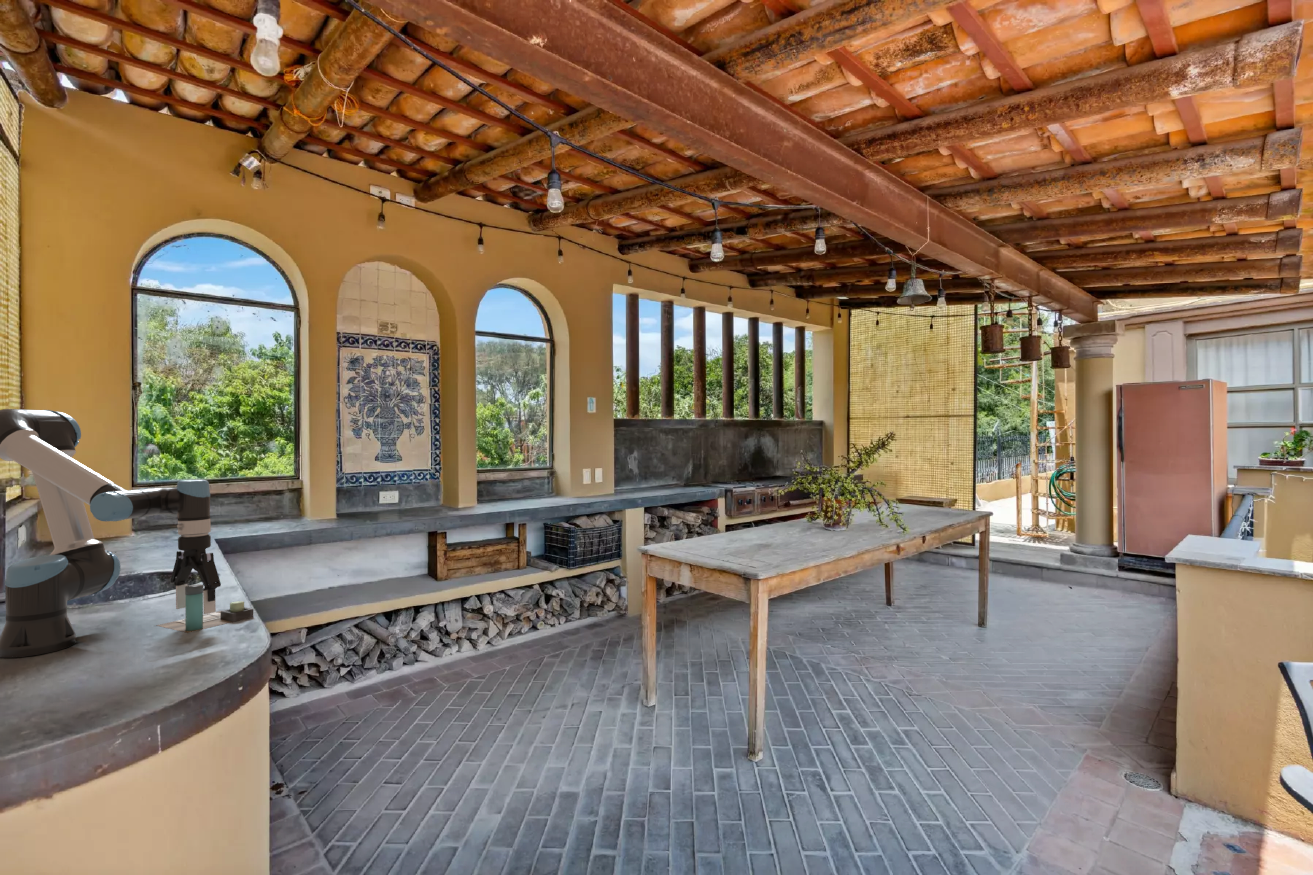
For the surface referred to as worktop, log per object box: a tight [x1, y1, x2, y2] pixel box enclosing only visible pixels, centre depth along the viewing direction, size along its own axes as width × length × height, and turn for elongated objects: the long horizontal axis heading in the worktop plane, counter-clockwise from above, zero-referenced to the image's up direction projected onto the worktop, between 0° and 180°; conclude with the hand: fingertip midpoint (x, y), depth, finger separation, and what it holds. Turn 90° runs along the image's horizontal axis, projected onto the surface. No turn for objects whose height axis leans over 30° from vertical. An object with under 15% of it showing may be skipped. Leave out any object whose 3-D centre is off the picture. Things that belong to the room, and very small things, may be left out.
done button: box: [229, 600, 245, 613], centre depth 194 cm, size 4×4×3 cm
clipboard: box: [155, 606, 254, 634], centre depth 191 cm, size 16×18×4 cm
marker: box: [184, 584, 204, 632], centre depth 183 cm, size 4×4×12 cm
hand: (195, 610), depth 183 cm, fingers open, 13 cm apart
